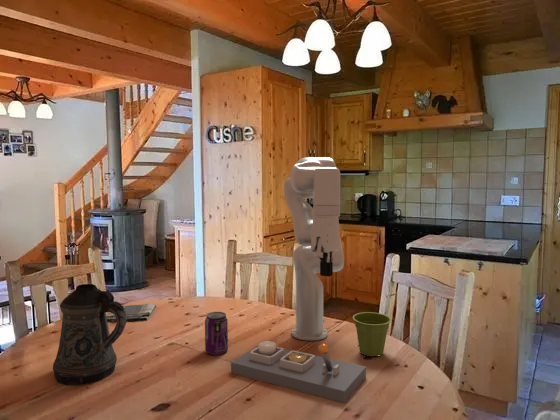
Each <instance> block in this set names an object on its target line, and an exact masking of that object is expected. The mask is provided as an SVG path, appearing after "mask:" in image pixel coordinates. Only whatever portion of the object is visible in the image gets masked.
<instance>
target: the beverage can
mask: <svg viewBox="0 0 560 420" xmlns="http://www.w3.org/2000/svg"><path fill="white" fill-rule="evenodd" d="M205 316H206V317H205V319H204V345H205V346H204V351H205V352H206V353H208V354H209V355H213V356H216V355H222V354H224V353H225V352H227V351H228V349H229V343H228V342H229V339H228V337H229V335H228V334H229V332H228V329H229V327H228V325H229V324H228V323H229V322H228V317H227V313H226V312H224V311H212V312H208V313H206V315H205Z"/></svg>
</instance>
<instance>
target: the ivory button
mask: <svg viewBox="0 0 560 420" xmlns="http://www.w3.org/2000/svg"><path fill="white" fill-rule="evenodd" d="M257 346H258V352H259V353H260V354H264V355H270V354H273V353H275V352H276V347H277V344H276V343H275V342H273V341H268V340H267V341H266V340H265V341H261V342H259V343H258V345H257Z"/></svg>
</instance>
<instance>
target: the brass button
mask: <svg viewBox="0 0 560 420" xmlns="http://www.w3.org/2000/svg"><path fill="white" fill-rule="evenodd" d="M299 352H300V351H298V352H296V353H291V354H289V361H292V362H297V363H301V364H303V363H304V362H306V361H307V355H306V354H304V353H305V352H303V353H299Z"/></svg>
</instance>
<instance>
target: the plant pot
mask: <svg viewBox="0 0 560 420" xmlns="http://www.w3.org/2000/svg"><path fill="white" fill-rule="evenodd" d="M352 320H353V321H354V325H355V326H354V327H355V328H356V329H355V330H356V334H357V335H356V336H357V342H358V343H357V344H358V348H359V352H361V353H362V354H361V353H360V354H361V355H363V354H364V355H363V356H365V355H367V356H366V357H368V356H369V357H371V356H378V355H381V354H382V355H383V354H384V351H385V344H386V339H387V333H388V330H389V327H390V323H392V318H391V317H390V316H389V315H387V314H384V313H380V312H374V311H373V312H371V311H369V312H368V311H366V312H364V311H363V312H359V313H355V314H353V316H352ZM382 355H381V356H382ZM378 357H379V356H378Z"/></svg>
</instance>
